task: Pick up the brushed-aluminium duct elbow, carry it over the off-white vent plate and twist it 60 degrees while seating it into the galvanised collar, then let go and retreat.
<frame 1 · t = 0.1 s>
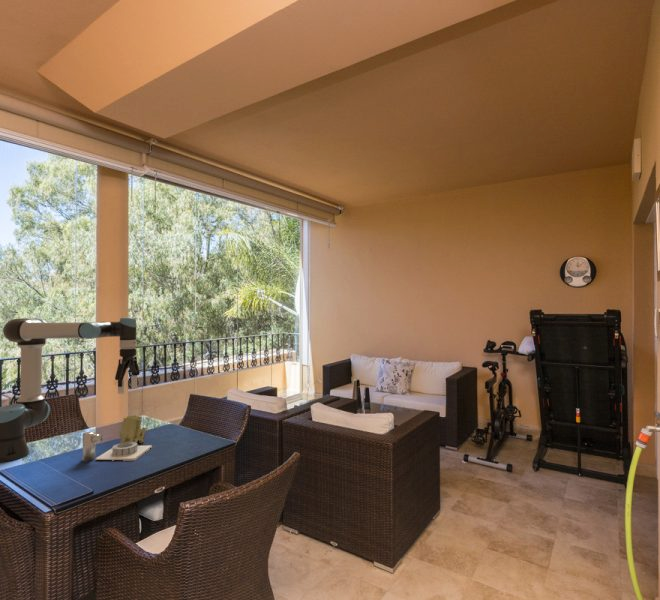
hand: (127, 390, 206), 28 cm above the table, fingers open, 13 cm apart
mechanical component: (134, 444, 211), on the table, touching vent plate
elbow: (88, 459, 188), on the table
vent plate: (124, 453, 195), on the table
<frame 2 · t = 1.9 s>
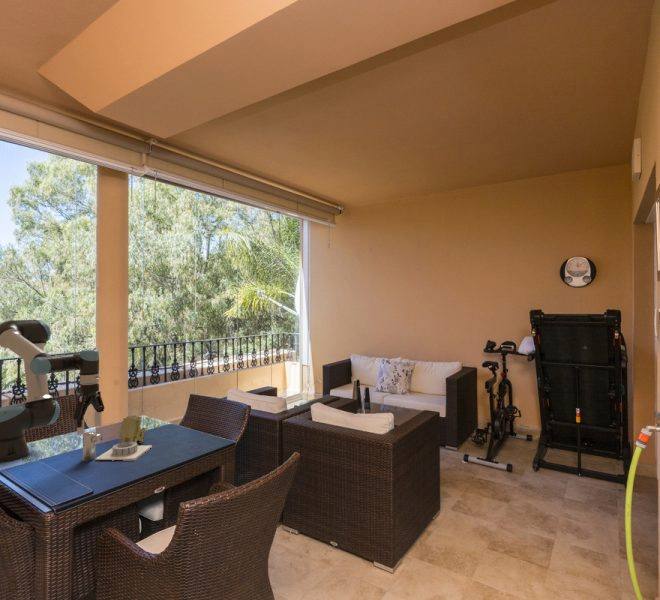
hand: (89, 430, 188), 13 cm above the table, fingers open, 13 cm apart
nothing on the table moved.
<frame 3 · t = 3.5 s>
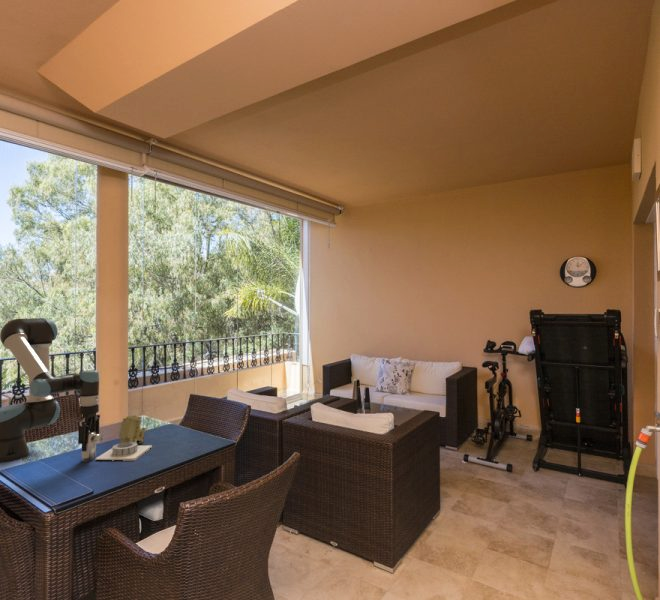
hand: (88, 455, 188), 2 cm above the table, fingers closed on elbow, 5 cm apart
elbow: (88, 459, 188), on the table, touching gripper
everything else where it was.
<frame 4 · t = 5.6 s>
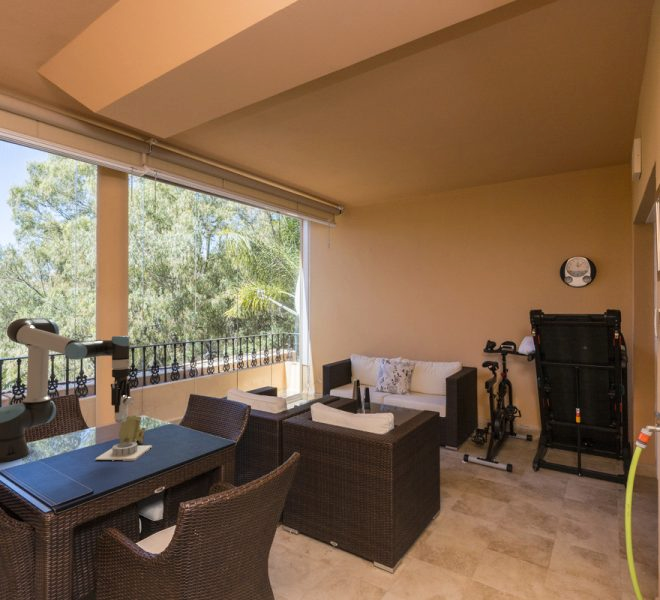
hand: (121, 417, 194), 17 cm above the table, fingers closed on elbow, 5 cm apart
elbow: (121, 421, 194), point 16 cm above the table, touching gripper
everything else where it was.
when the fingers open (4 cm above the table, at t = 7.9 s): elbow drops 1 cm, resting on vent plate.
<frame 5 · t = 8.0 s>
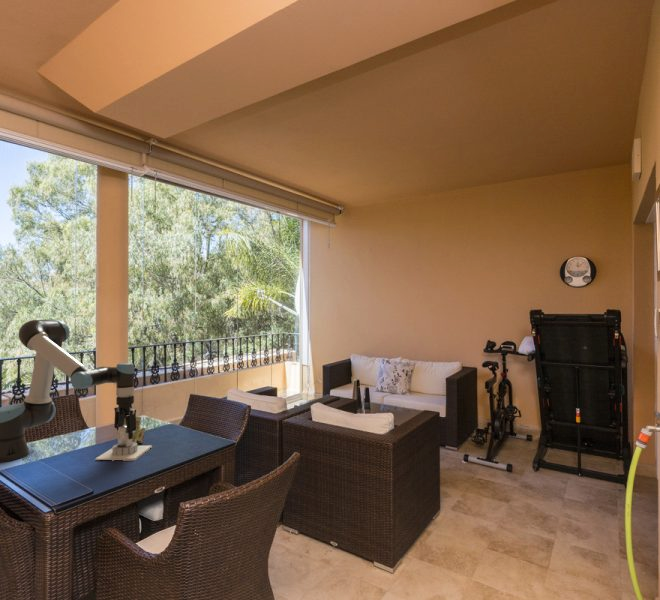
hand: (125, 444, 195), 4 cm above the table, fingers open, 6 cm apart
elbow: (124, 451, 195), point 1 cm above the table, touching vent plate
everything else where it was.
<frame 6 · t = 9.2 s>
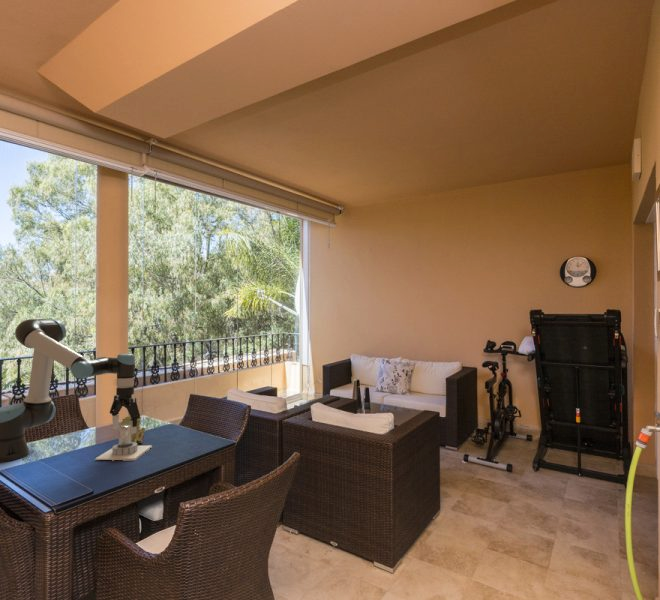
hand: (124, 431, 195), 11 cm above the table, fingers open, 13 cm apart
nothing on the table moved.
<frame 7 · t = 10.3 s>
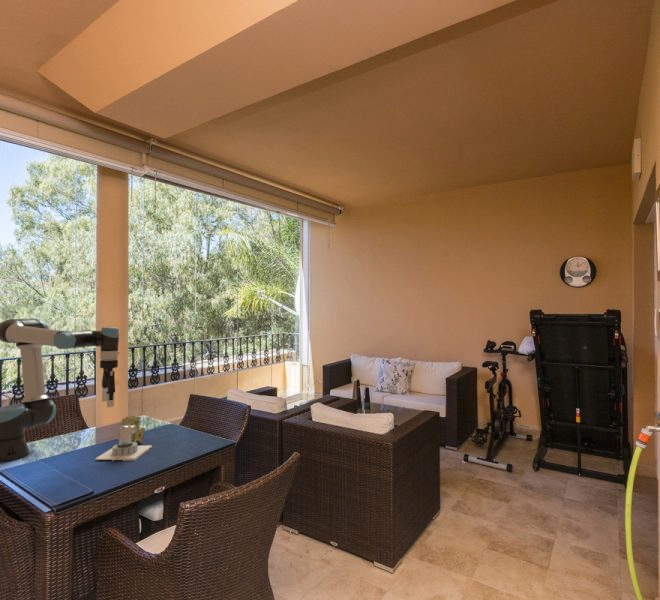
hand: (107, 404, 196), 24 cm above the table, fingers open, 13 cm apart
nothing on the table moved.
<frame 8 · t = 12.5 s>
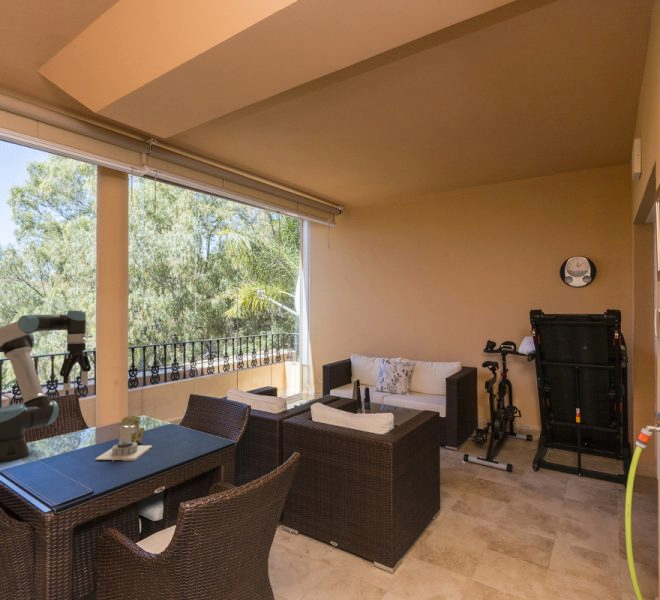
hand: (76, 387, 195), 32 cm above the table, fingers open, 13 cm apart
at the end: elbow 0.0 cm off-centre on the vent plate, point 1.0 cm above the vent plate's base; elbow tilted 0°; the gripper is holding nothing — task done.
